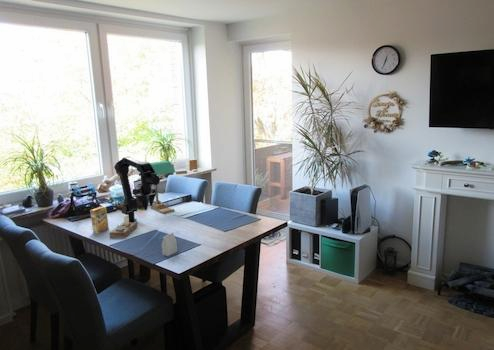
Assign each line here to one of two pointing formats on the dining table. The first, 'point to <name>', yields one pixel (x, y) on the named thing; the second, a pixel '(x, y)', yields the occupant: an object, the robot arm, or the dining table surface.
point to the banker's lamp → (160, 169)
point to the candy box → (99, 219)
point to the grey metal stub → (120, 227)
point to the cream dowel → (126, 220)
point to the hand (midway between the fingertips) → (148, 207)
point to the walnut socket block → (125, 232)
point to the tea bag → (169, 244)
